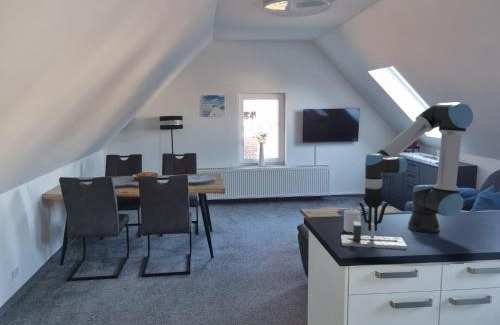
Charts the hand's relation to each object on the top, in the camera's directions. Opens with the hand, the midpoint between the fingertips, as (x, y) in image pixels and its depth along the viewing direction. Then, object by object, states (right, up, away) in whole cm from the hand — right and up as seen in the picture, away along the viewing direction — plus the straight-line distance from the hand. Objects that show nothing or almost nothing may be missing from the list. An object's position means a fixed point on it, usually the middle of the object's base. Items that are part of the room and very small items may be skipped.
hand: (372, 237), depth 193 cm
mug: (-4, -1, +19) cm, 19 cm away
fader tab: (-7, 0, +1) cm, 7 cm away
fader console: (0, -3, 0) cm, 3 cm away
